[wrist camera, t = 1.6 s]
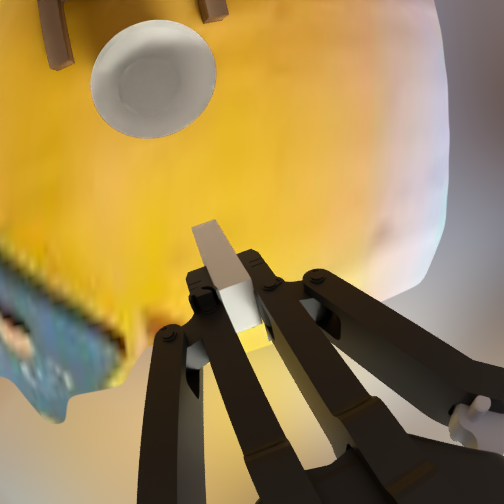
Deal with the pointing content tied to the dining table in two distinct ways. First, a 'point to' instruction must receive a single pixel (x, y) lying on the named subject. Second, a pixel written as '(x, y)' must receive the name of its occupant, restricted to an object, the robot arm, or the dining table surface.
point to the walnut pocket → (58, 38)
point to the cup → (153, 79)
